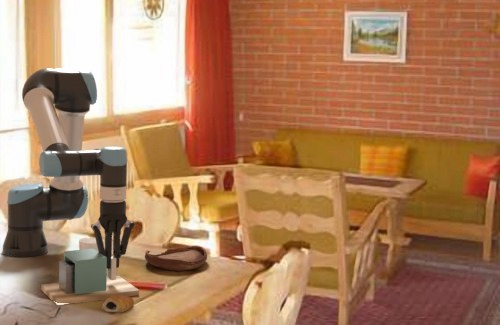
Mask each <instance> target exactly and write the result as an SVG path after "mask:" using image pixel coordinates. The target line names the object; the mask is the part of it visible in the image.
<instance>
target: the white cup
mask: <svg viewBox="0 0 500 325" xmlns="http://www.w3.org/2000/svg"><path fill="white" fill-rule="evenodd" d="M102 240H103V244H104V245H105V238H104V239H103V238H102ZM78 248H79V249H78V250H83V249H95V250H96V251H98V247H97V243H96V238H95V236H94V237H91V236H90V237H84V238H80V239H79V240H78ZM98 252H99V251H98Z"/></svg>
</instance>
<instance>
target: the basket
mask: <svg viewBox="0 0 500 325" xmlns="http://www.w3.org/2000/svg"><path fill="white" fill-rule="evenodd" d="M150 252H151V251H150V250H146V251H145V254H144V259H145V261H146V262H148V263H149V264H150V265H152V266H154V267H158V268H162V269H165V270H169V271H177V272H181V271H190V270H193V269H194V270H195V269H197V268H199V267H201V266H202V265H205V263H206V261H207V259H208V253H207V250H206V248H205V247H203V246H201V245H192V246H183V247H178V248H177V247H176V248H175V247H174V248H168V249H166V250H165V251H164V252H161V253H160V254H159V253H158V254H151V253H150Z"/></svg>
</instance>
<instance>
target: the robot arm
mask: <svg viewBox="0 0 500 325" xmlns="http://www.w3.org/2000/svg"><path fill="white" fill-rule="evenodd" d="M97 88H98V87H97V83H96V80H95V77H94V75H93V73H92V71H90V70H88V69H87V70H86V69H80V68H48V67H46V68H40V69H39V70H37V71H35V72H33V73H32V74H31V75H29V77H28V78H27V79H26V81H25V82H24V84H23V87H22V91H21V96H22V100H23V101H22V102H23V105H24V107H25V108H26V109H27V110H28V111H29V113H30V115H31V119H32V122H33V124H34V127H35V130H36V134H37V136H38V139H39V143H40V146H41V149H42V152H40V155H39V157H38V158H39V159H38V164H39V171H40V174H41V176H42V177H46V178H47V177H48V178H51V179H50V180H49V185H48V186H49V187H44V185H43V184H42V183H36V182H33V183H30V182H29V183H24V184H19V185H15V186H13V187H11V188H10V189H9V190H8V192H7V202H6V204H7V232H6V236H5V238H4V241H3V244H2V254H4V255H5V256H9V257H15V258H25V257H26V258H27V257H28V258H29V257H36V256H37V257H38V256H42V255H45V254H47V253H48V252H49V245H48V244H49V243H48V240H47V238H46V235H45V231H44V222H47V221H48V222H49V221H50V222H51V221H52V222H53V221H67V220H68V221H71V220H76V219H80V218H82V217H83V216H84V215H85V214H86V212H87V209H88V204H89V191H88V189H87V187H86V186H84V182H83V181H82V180H81V179H80V178H81V177H84V176H86V177H89V176H91V177H92V176H99V177H100V178H99V183H100V184H99V185H100V186H99V199H100V202H99V217H98V218H97V219H98V221H96V223H92V224H90V228H91V229H92V231H93V234H94V237H95V238H96V243H97V247H98V251H99V253H101V254H102V255H104V256H105V257H107V277H108V278H109V279H110V280H116V276H117V269H119V267H120V258H121V256H123V255H124V256H125V255H126V252H127V249H128V245H129V240H130V237H131V232H132V230H133V228H134V226H135V223H134V222H132V221H131V220H128V217H127V201H126V199H127V178H128V177H127V176H128V156H127V155H128V151H127V149H126V148H125V147H123V146H121V147H120V146H104V147H102V148H94V149H91V150H90V149H89V150H86V149H85V150H83V140H84V127H85V115H86V114H88V113H89V112H90V109H91V106H92V105H94V104H96V102H97V100H98V99H97V98H98V89H97ZM57 112H58V113H57ZM123 227H124V229H123ZM101 228H102V229H103V230H104V244H103V240H102V239H103V237H102V236H103V235H102V232H101ZM122 229H123V233H122ZM121 236H122V237H121Z"/></svg>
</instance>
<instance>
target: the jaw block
mask: <svg viewBox="0 0 500 325" xmlns="http://www.w3.org/2000/svg"><path fill="white" fill-rule="evenodd" d="M58 264H59V265H58V272H59V274H58V283H59V288H60V289H61V290H62V291H63V292H64V293H65V294H71V293H75V263H74V262H72V261H71V260H64V259H63V260H58Z"/></svg>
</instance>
